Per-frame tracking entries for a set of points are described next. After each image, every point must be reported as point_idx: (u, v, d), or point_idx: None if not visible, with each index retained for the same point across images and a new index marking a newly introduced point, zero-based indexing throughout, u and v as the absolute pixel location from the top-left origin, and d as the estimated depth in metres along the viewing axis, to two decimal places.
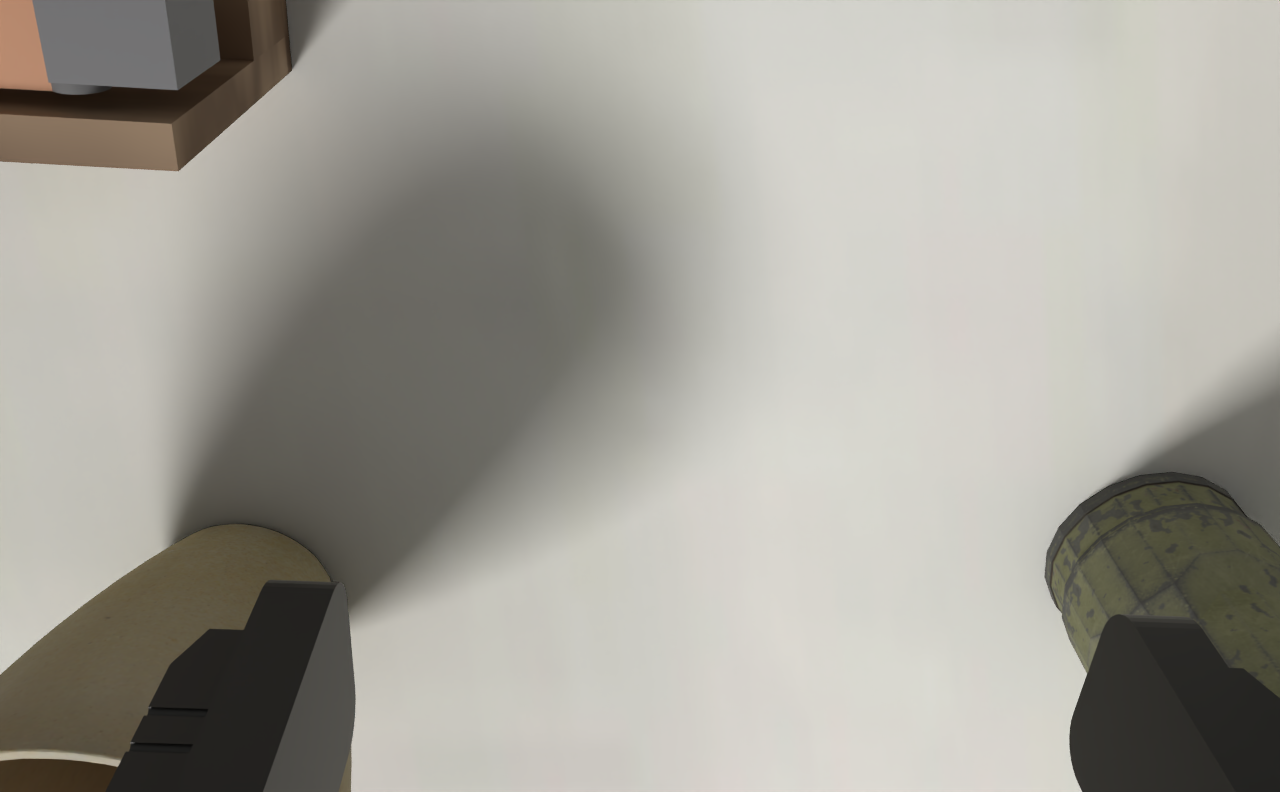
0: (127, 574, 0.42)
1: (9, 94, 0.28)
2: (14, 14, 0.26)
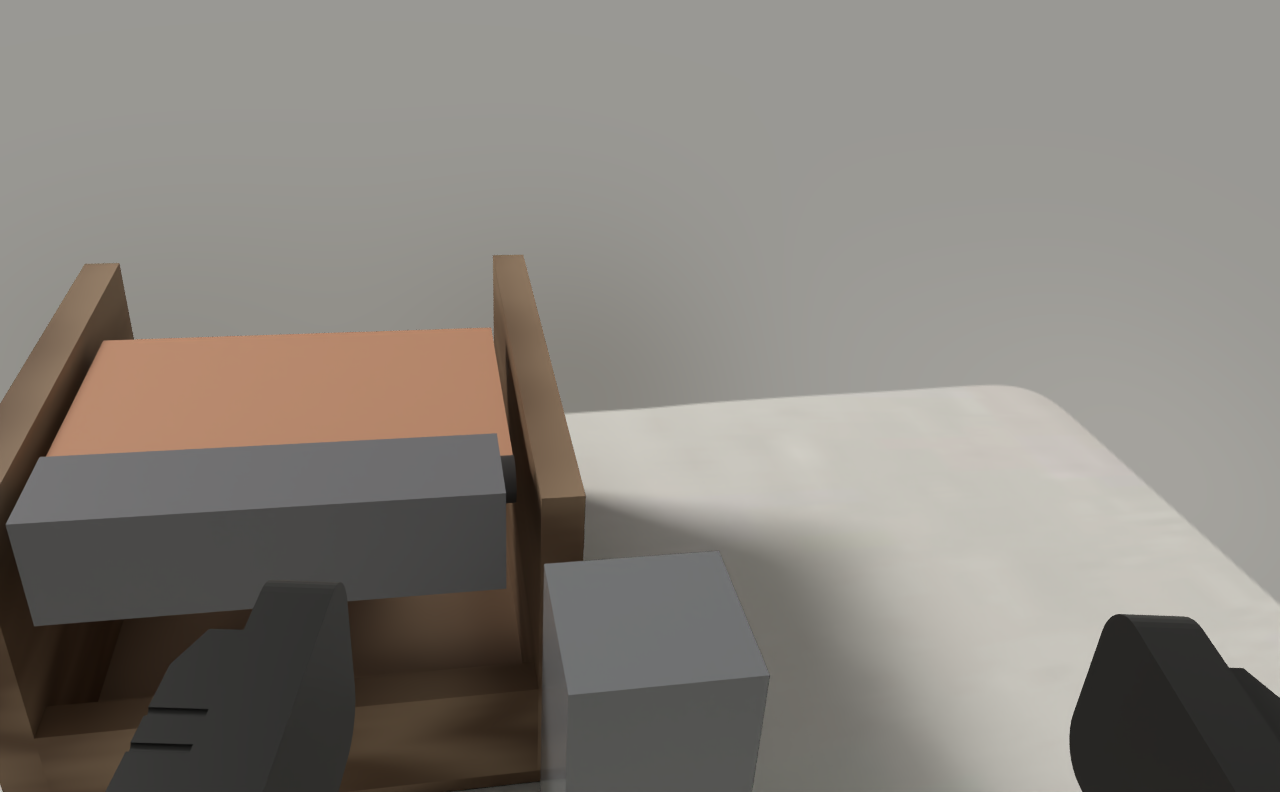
0: None
1: None
2: None
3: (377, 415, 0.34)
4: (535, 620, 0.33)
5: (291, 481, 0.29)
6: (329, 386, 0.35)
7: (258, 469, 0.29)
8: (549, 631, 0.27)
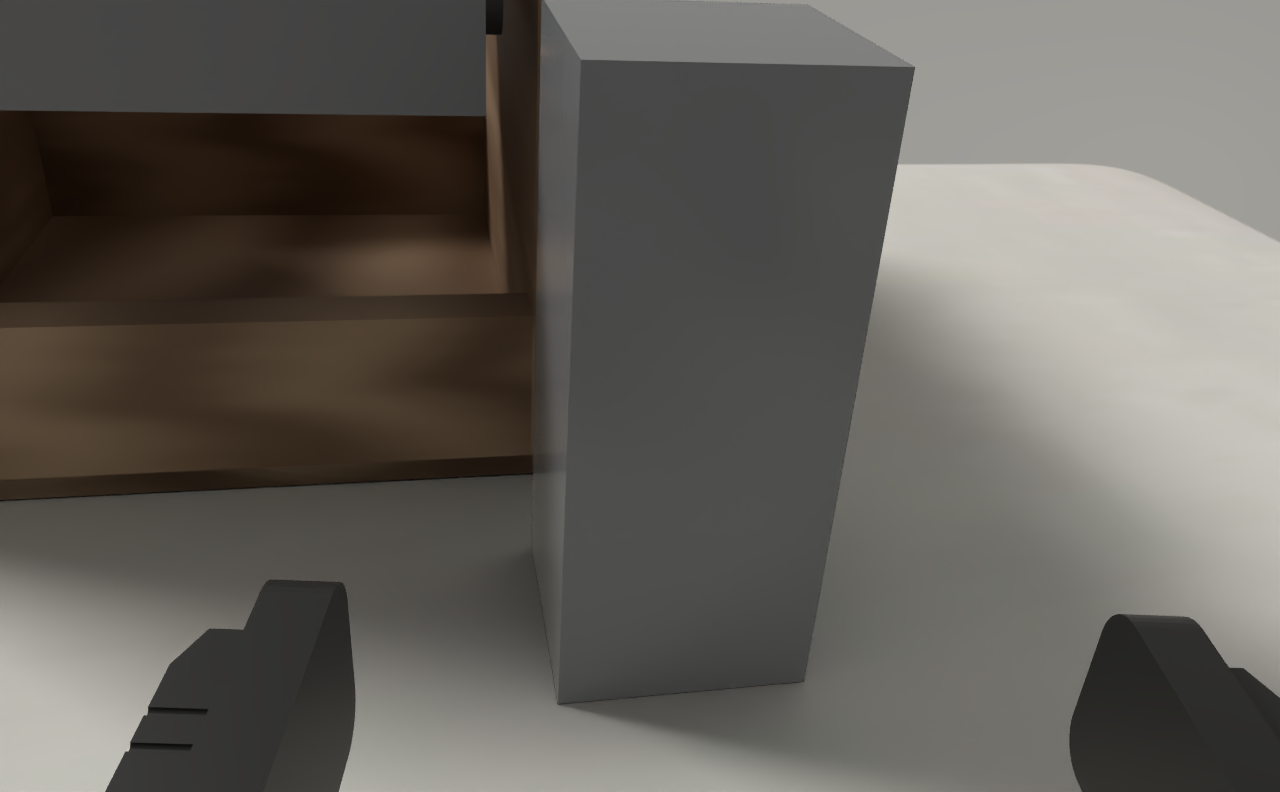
0: None
1: None
2: None
3: None
4: (529, 218, 0.23)
5: None
6: None
7: None
8: (549, 81, 0.17)
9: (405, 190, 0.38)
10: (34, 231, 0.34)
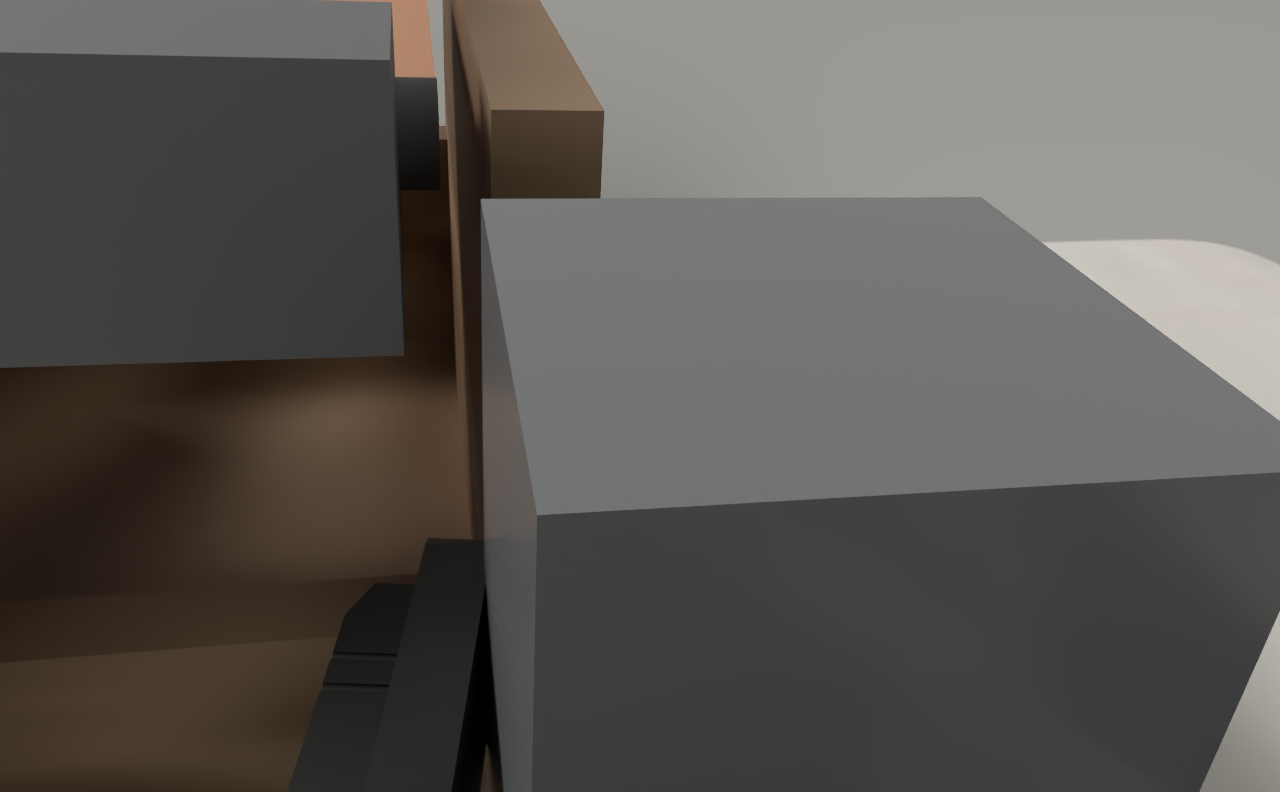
0: None
1: None
2: None
3: None
4: None
5: None
6: None
7: None
8: (491, 385, 0.09)
9: None
10: None
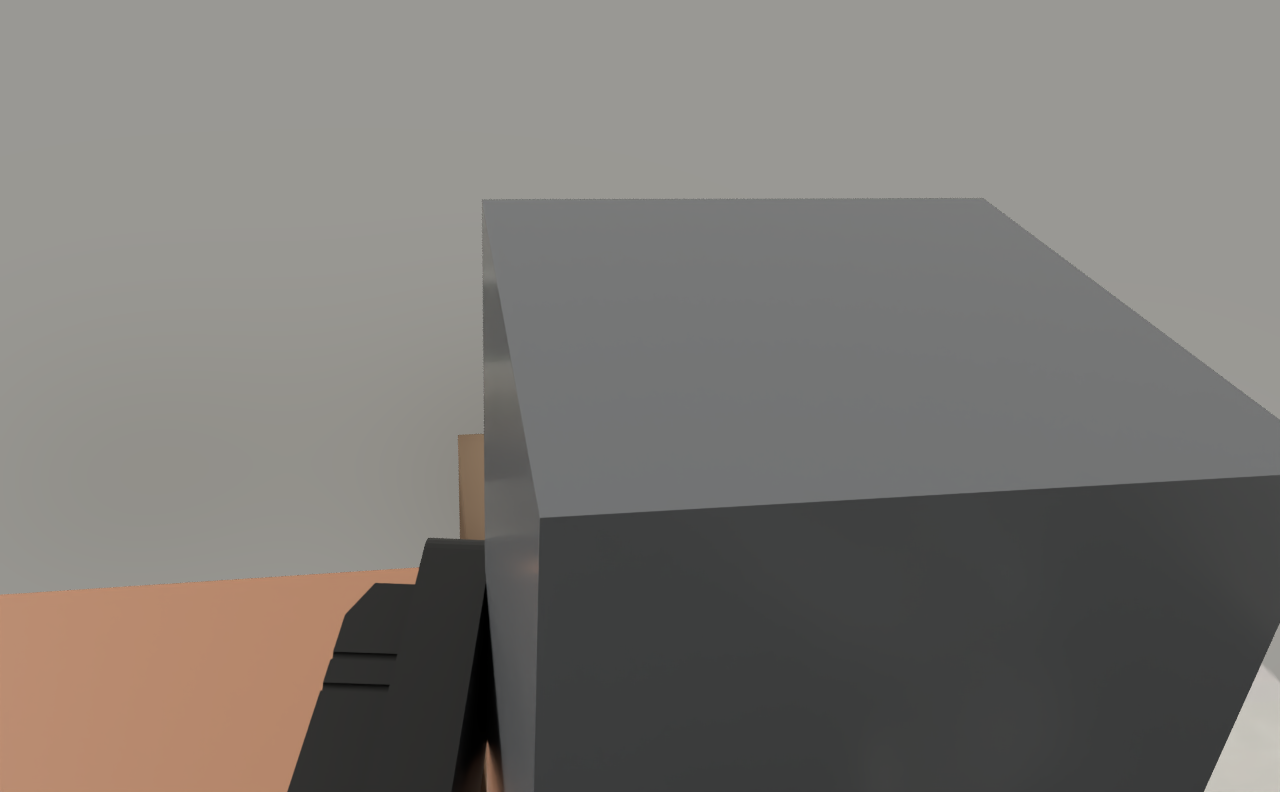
0: None
1: None
2: None
3: (265, 757, 0.23)
4: None
5: None
6: (201, 693, 0.24)
7: None
8: (493, 386, 0.08)
9: None
10: None
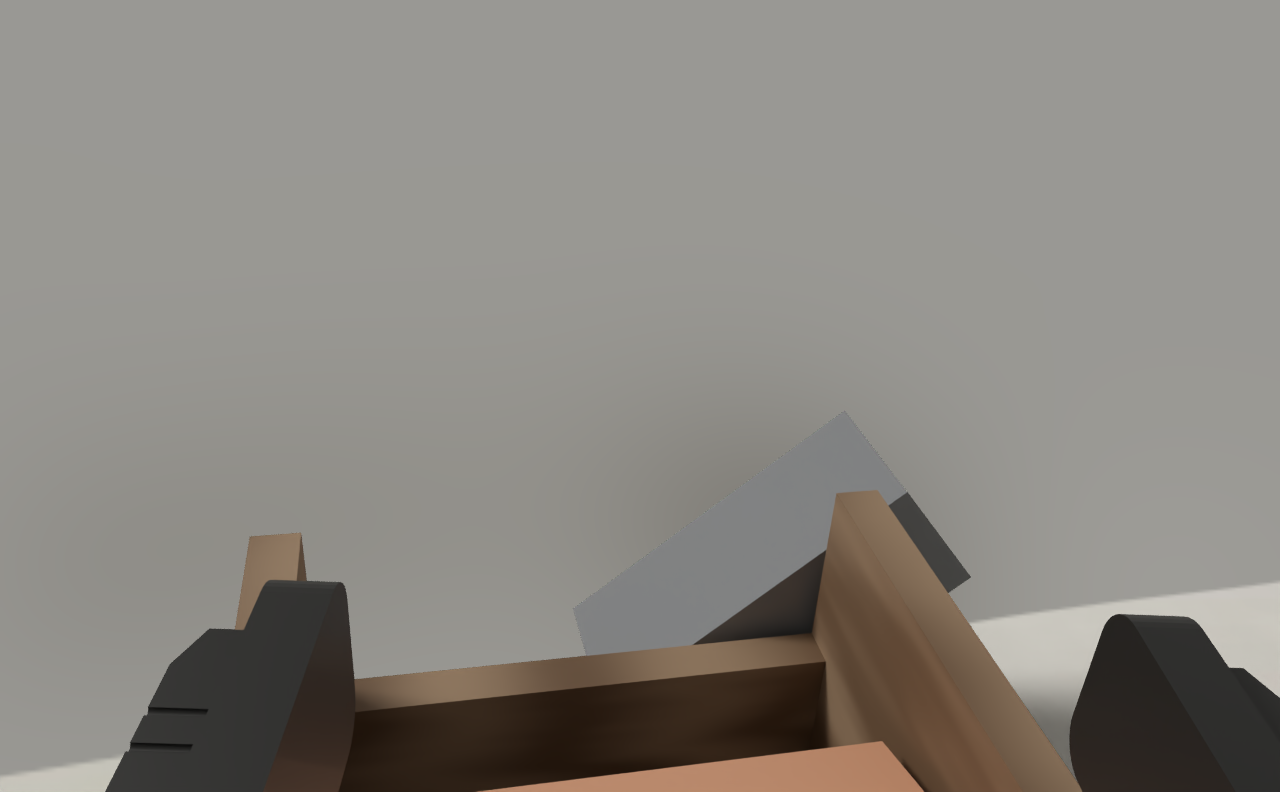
0: None
1: None
2: None
3: None
4: None
5: None
6: None
7: None
8: None
9: None
10: None
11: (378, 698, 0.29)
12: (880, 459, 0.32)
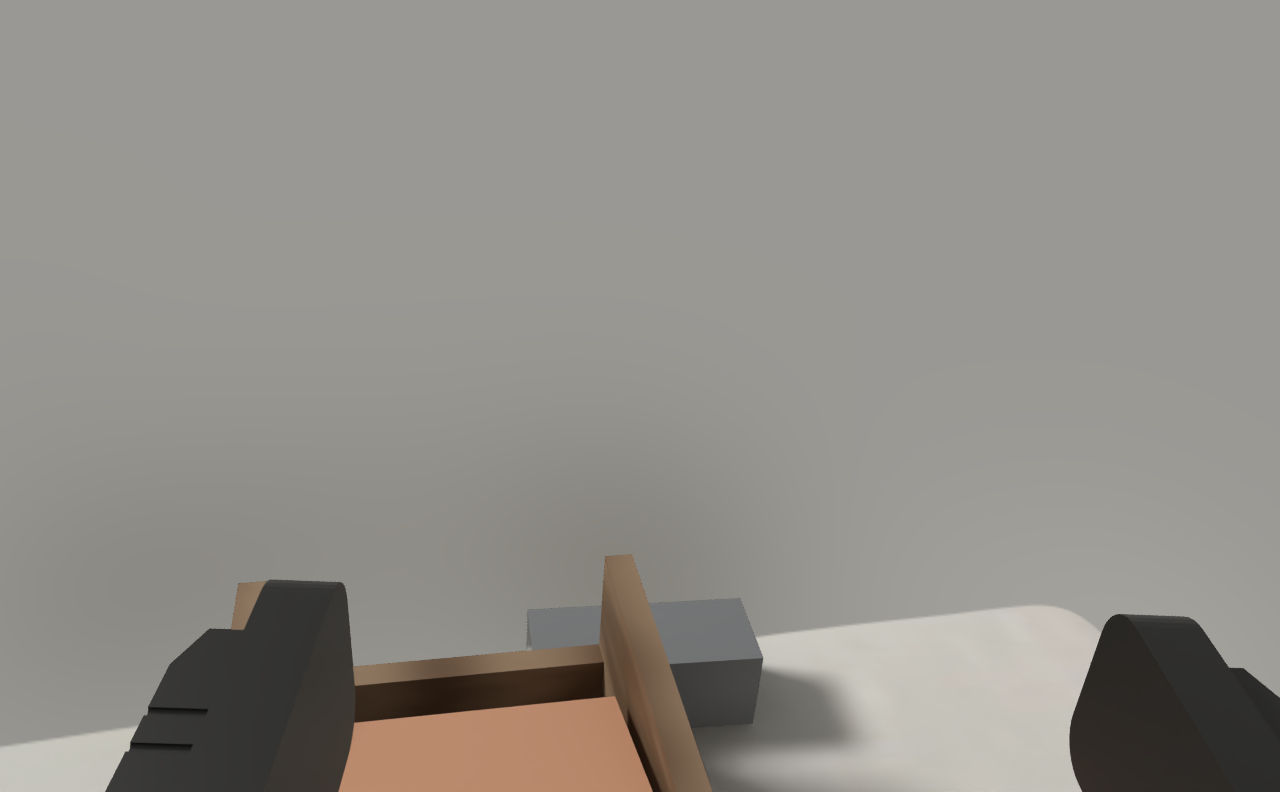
0: None
1: None
2: None
3: None
4: None
5: None
6: (488, 765, 0.40)
7: None
8: None
9: None
10: None
11: None
12: (753, 634, 0.54)
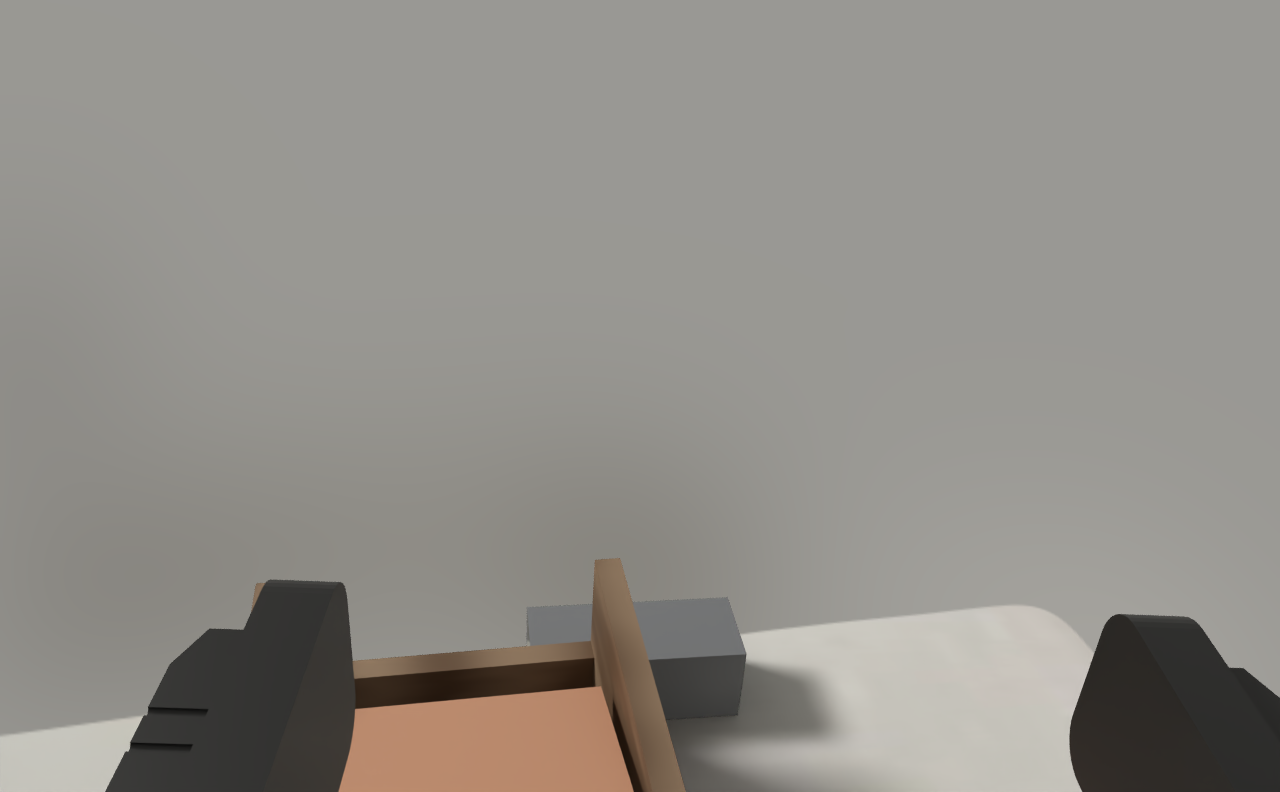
0: None
1: None
2: None
3: (524, 777, 0.42)
4: None
5: None
6: (481, 750, 0.43)
7: None
8: None
9: None
10: None
11: None
12: (738, 631, 0.58)
